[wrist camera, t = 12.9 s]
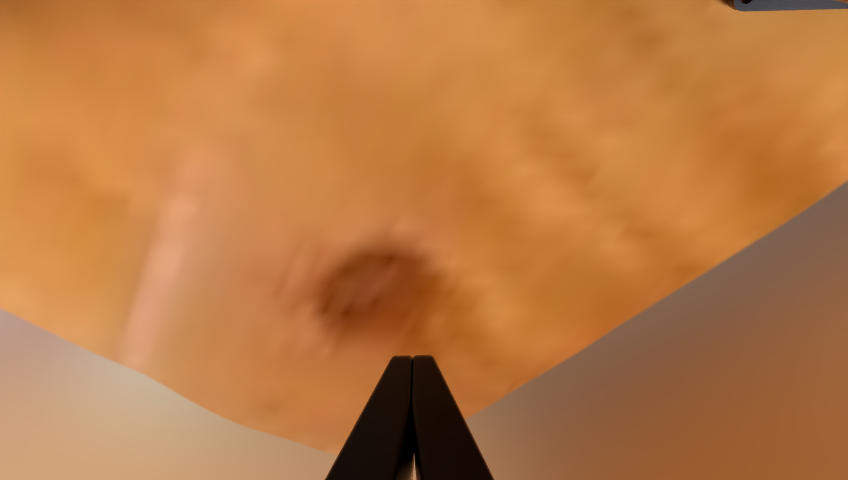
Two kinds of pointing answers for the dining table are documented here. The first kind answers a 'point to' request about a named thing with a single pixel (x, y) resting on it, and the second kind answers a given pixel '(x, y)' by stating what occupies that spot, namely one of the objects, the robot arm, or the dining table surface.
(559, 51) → the dining table surface
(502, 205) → the dining table surface
